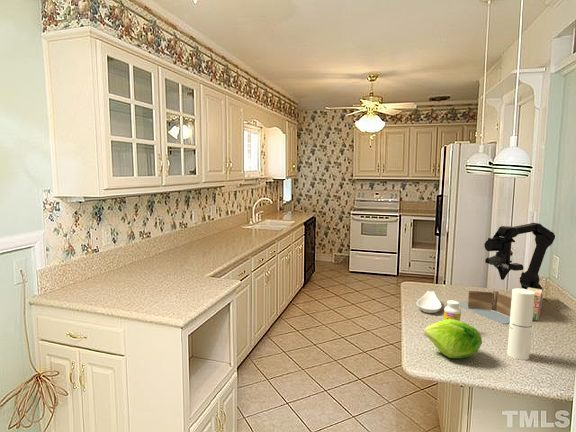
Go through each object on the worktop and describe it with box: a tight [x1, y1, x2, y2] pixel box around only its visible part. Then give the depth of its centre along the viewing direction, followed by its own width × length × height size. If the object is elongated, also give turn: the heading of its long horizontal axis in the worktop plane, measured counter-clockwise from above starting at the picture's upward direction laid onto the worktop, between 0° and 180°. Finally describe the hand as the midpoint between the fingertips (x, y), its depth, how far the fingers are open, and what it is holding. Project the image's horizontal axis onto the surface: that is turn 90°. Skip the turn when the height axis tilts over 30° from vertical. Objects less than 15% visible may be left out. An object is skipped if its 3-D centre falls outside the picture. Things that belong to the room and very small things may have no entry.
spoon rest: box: [416, 290, 443, 314], centre depth 197 cm, size 24×12×7 cm, turn 157°
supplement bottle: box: [443, 299, 462, 321], centre depth 168 cm, size 7×7×13 cm
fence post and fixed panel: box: [492, 290, 512, 317], centre depth 187 cm, size 2×15×10 cm, turn 20°
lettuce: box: [423, 319, 483, 359], centre depth 145 cm, size 15×20×14 cm
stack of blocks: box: [527, 287, 544, 321], centre depth 190 cm, size 21×6×12 cm, turn 143°
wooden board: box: [467, 290, 493, 310], centre depth 194 cm, size 2×11×8 cm, turn 79°
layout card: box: [458, 301, 510, 325], centre depth 192 cm, size 16×29×1 cm, turn 20°
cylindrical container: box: [506, 287, 535, 361], centre depth 144 cm, size 7×7×25 cm
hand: (502, 279), depth 203 cm, fingers closed
